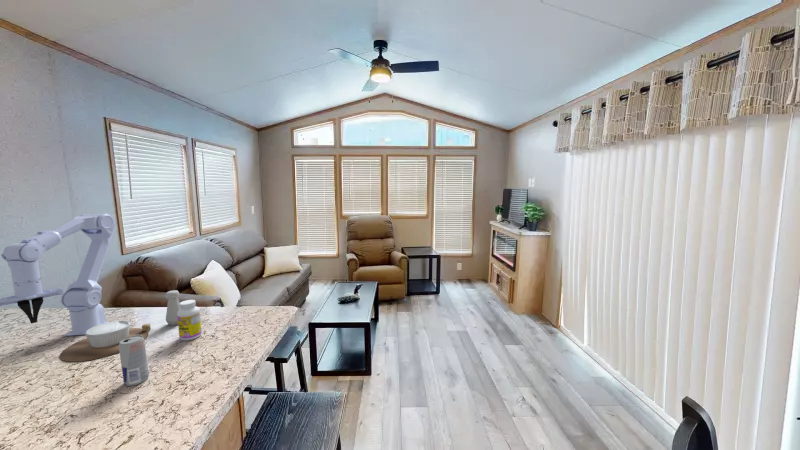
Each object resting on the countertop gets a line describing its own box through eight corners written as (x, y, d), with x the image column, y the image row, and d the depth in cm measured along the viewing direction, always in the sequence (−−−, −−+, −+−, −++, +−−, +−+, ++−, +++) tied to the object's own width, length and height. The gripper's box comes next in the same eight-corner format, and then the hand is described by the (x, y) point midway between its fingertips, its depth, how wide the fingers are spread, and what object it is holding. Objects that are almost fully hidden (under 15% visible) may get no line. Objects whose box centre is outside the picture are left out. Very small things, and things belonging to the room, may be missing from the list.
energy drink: (133, 375, 90) (128, 335, 89) (153, 374, 91) (148, 334, 89) (118, 387, 85) (112, 344, 84) (140, 385, 86) (134, 343, 84)
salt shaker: (175, 327, 120) (171, 294, 119) (162, 326, 121) (158, 293, 120) (188, 320, 126) (184, 289, 124) (176, 319, 127) (172, 288, 125)
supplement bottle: (175, 339, 111) (171, 304, 109) (193, 331, 117) (190, 297, 115) (188, 342, 109) (184, 306, 107) (206, 334, 115) (203, 299, 113)
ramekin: (139, 336, 112) (137, 322, 112) (101, 352, 102) (99, 337, 101) (118, 332, 116) (116, 318, 115) (79, 347, 106) (77, 331, 105)
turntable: (94, 331, 117) (93, 325, 117) (161, 326, 121) (160, 320, 121) (38, 365, 96) (37, 358, 96) (121, 357, 100) (120, 350, 99)
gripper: (-11, 289, 92) (-3, 333, 94) (61, 277, 103) (68, 317, 105) (-11, 284, 97) (-3, 327, 98) (59, 273, 108) (65, 312, 109)
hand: (33, 322), depth 102 cm, fingers closed
